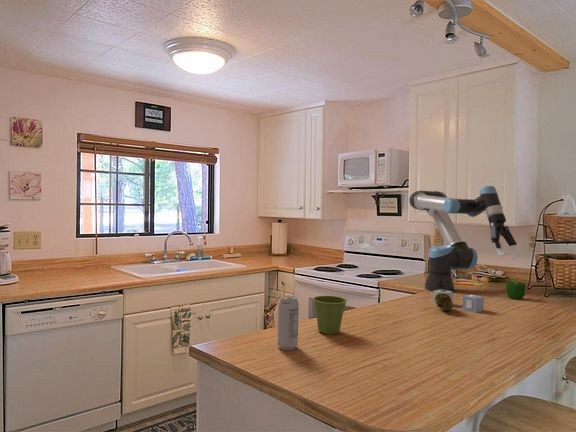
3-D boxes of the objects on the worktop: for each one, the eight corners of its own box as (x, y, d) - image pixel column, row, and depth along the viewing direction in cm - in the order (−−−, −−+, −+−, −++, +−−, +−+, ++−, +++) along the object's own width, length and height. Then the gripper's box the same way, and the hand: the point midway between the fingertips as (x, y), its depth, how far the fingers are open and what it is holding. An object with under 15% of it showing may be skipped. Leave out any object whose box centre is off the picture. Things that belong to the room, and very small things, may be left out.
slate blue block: (462, 309, 186) (462, 295, 186) (470, 308, 190) (470, 293, 190) (475, 312, 182) (475, 297, 181) (483, 311, 185) (483, 296, 185)
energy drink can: (286, 343, 134) (287, 294, 134) (301, 347, 130) (302, 297, 130) (273, 347, 130) (274, 297, 129) (288, 352, 126) (290, 300, 126)
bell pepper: (528, 300, 209) (529, 279, 209) (511, 300, 210) (511, 279, 209) (519, 297, 218) (520, 277, 218) (503, 296, 218) (503, 276, 218)
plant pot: (318, 337, 141) (319, 303, 140) (307, 328, 152) (308, 296, 152) (352, 335, 144) (353, 302, 144) (338, 326, 155) (339, 294, 155)
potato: (459, 310, 186) (460, 291, 185) (447, 315, 176) (448, 295, 176) (440, 306, 191) (441, 288, 191) (427, 311, 182) (428, 292, 181)
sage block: (432, 303, 197) (433, 290, 197) (440, 302, 201) (441, 288, 201) (444, 306, 192) (444, 292, 192) (452, 304, 196) (452, 291, 196)
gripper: (489, 208, 203) (503, 251, 195) (515, 217, 218) (528, 257, 209) (475, 214, 208) (487, 256, 200) (501, 222, 223) (513, 262, 215)
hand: (508, 256), depth 205 cm, fingers open, 13 cm apart
